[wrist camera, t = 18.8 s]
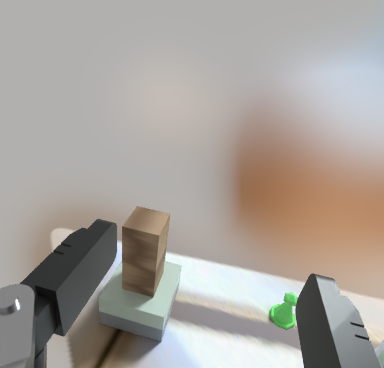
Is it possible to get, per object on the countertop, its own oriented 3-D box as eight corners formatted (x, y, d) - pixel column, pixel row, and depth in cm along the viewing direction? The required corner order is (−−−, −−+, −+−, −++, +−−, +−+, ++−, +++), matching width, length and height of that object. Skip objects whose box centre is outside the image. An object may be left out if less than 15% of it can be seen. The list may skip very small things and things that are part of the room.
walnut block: (163, 272, 42) (170, 214, 37) (153, 297, 38) (159, 235, 32) (135, 265, 43) (137, 206, 37) (122, 288, 39) (122, 226, 33)
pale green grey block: (178, 288, 47) (181, 265, 44) (161, 342, 38) (164, 317, 36) (127, 274, 48) (127, 251, 46) (99, 323, 40) (98, 298, 37)
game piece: (266, 306, 47) (275, 283, 44) (288, 307, 47) (299, 284, 44) (274, 329, 43) (285, 306, 40) (298, 330, 43) (311, 307, 40)
